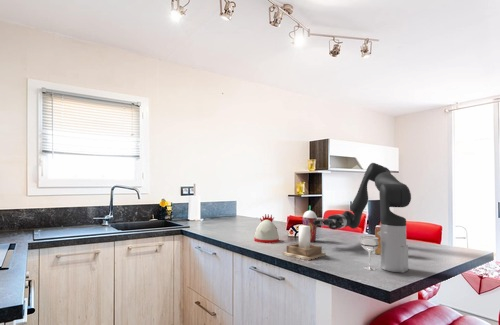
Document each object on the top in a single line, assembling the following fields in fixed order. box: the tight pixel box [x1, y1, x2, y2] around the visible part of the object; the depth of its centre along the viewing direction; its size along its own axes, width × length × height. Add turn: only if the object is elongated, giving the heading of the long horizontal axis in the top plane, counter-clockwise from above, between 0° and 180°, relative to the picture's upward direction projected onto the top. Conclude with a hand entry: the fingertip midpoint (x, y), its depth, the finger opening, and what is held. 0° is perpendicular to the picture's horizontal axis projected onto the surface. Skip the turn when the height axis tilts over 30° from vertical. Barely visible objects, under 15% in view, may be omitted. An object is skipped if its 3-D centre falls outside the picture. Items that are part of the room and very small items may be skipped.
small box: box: [374, 224, 381, 256], centre depth 148 cm, size 8×6×13 cm
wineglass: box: [360, 235, 379, 271], centre depth 122 cm, size 7×7×12 cm
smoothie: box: [302, 205, 318, 243], centre depth 177 cm, size 8×8×20 cm
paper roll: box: [298, 224, 311, 249], centre depth 142 cm, size 5×5×12 cm
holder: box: [282, 242, 327, 261], centre depth 142 cm, size 14×14×4 cm
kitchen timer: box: [253, 213, 280, 244], centre depth 176 cm, size 14×14×15 cm
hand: (321, 223), depth 152 cm, fingers open, 8 cm apart
